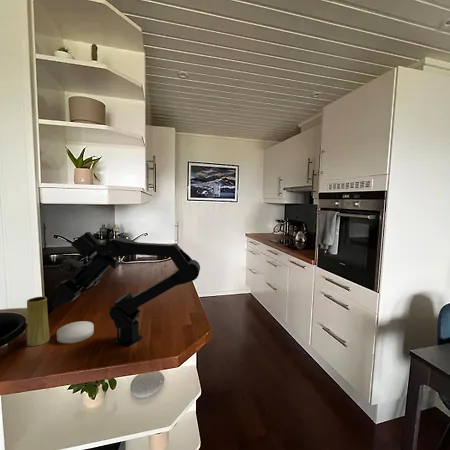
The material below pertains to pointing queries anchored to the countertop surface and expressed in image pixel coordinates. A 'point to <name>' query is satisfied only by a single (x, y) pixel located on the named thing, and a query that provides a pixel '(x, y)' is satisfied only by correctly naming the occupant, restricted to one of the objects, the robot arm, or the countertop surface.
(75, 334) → the plinth
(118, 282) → the countertop surface
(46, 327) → the vase
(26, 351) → the countertop surface
